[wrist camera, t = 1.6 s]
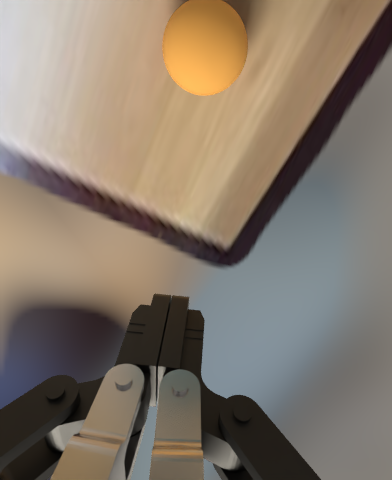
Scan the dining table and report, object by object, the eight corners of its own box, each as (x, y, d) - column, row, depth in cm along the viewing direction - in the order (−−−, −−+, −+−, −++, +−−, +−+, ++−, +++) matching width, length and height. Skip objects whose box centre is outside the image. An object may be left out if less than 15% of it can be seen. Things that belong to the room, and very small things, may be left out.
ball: (170, -2, 22) (155, -14, 17) (250, 4, 22) (258, -6, 17) (168, 87, 25) (155, 97, 20) (239, 93, 24) (243, 104, 20)
